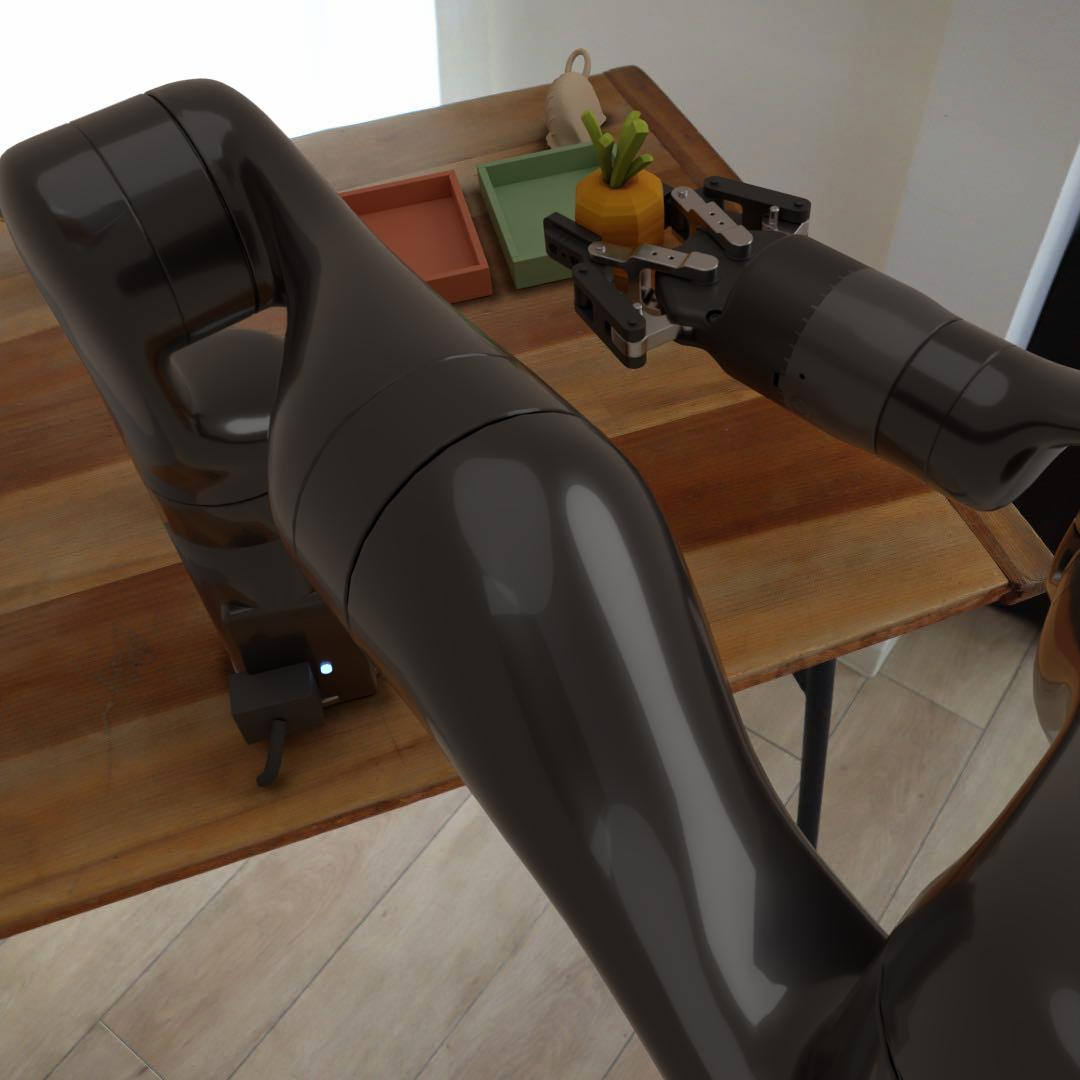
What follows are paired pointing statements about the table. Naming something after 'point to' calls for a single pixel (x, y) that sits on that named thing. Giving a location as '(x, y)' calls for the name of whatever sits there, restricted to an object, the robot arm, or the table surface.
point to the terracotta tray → (428, 231)
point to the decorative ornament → (571, 105)
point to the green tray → (534, 205)
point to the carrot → (621, 189)
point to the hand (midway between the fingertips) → (584, 207)
